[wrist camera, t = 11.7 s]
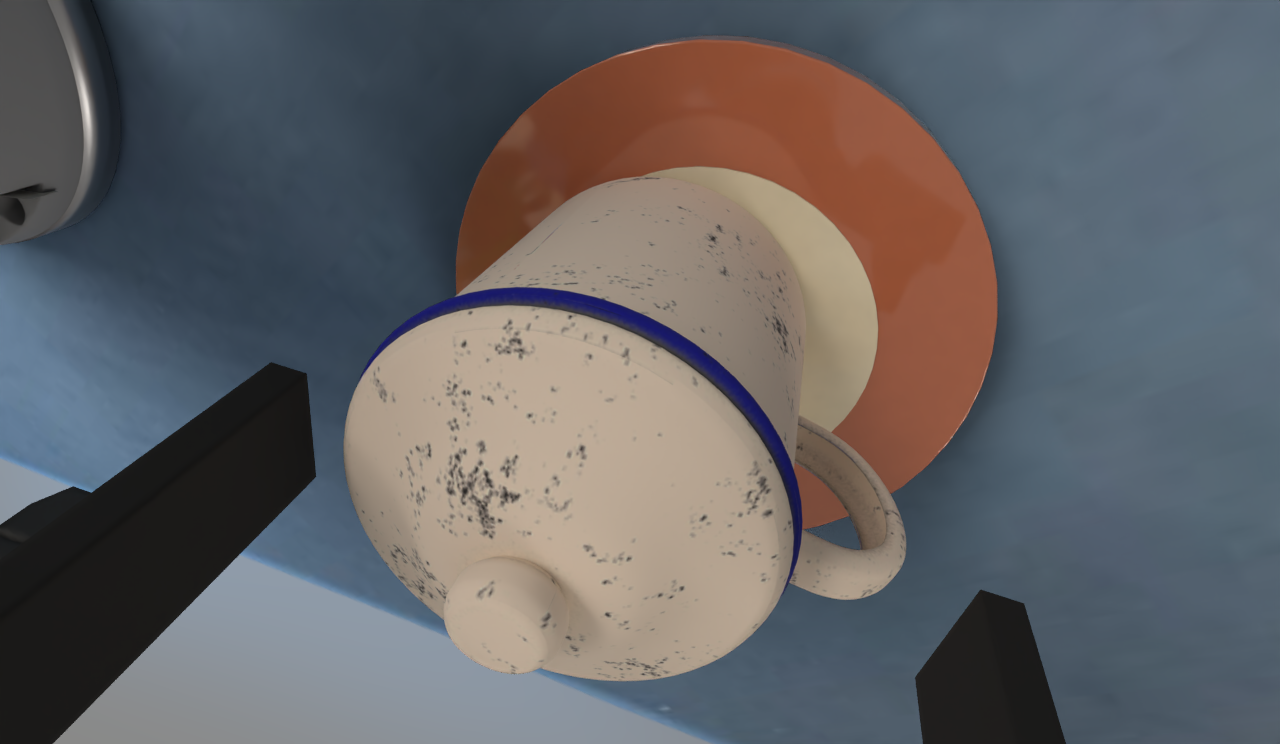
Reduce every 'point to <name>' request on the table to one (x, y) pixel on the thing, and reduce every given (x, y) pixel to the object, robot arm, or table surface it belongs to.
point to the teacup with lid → (610, 444)
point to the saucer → (785, 222)
